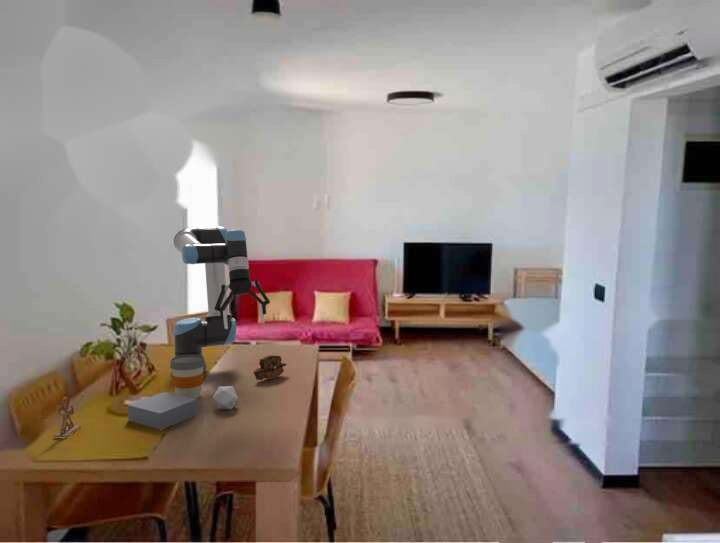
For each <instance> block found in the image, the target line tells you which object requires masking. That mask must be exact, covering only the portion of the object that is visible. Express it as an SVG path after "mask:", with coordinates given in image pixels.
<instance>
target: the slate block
mask: <svg viewBox="0 0 720 543" xmlns="http://www.w3.org/2000/svg"><path fill="white" fill-rule="evenodd" d="M197 399H198V398H197ZM197 399H194V398H190V397H185V396H181V395H177V394H176V393H173V392H167V391H163V392H160V393H157V394H155V395H153V396H150V397H146V398H144V399H141V400H137V401H135V402H132V403H130V404H127V414H128V417H127V418H128V421H129V420H130V421H129V422H131V421H133V422H132V423H135V422H137V423H136V424H138V423H139V425H142V424H143V425H142V426H145V425H147V426H146V427H149V426H150V427H149V428H152V427H154V428H153V429H156V428H158V429H157V430H159V429H162V430H164V429H166V428H165V427H167V428H169V427H172V426H174V425H176V424H178V423H179V424H180V422H183V421H186V420H187V419H190V418H193V417H194V416H197V415H198V400H197ZM171 425H172V426H171ZM163 428H164V429H163Z"/></svg>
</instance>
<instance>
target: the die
mask: <svg viewBox="0 0 720 543" xmlns="http://www.w3.org/2000/svg"><path fill="white" fill-rule="evenodd" d="M212 399H213V402H214V405H215V407H216V408H217V410H233V408H234V406H235V404H236V402H237V401H238V399H239V397H238V395H237V392H236V391H235V388H234V386H233V385H231V386H226V385H225V386H224V385H222V386H218V387H217V389H216V391H215V393H214V394H213V396H212Z"/></svg>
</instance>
